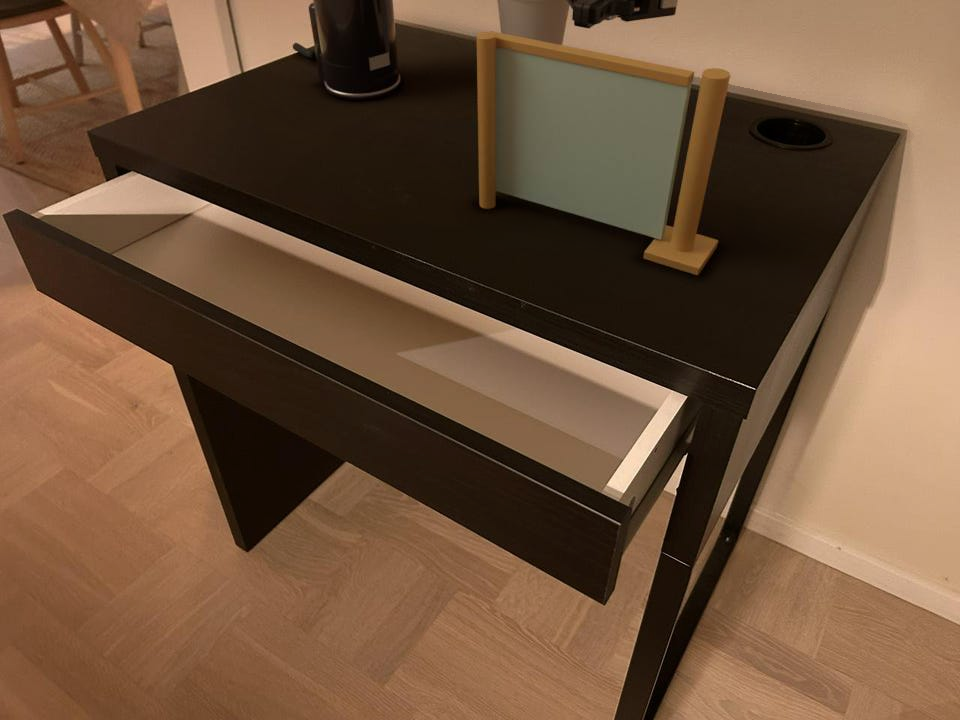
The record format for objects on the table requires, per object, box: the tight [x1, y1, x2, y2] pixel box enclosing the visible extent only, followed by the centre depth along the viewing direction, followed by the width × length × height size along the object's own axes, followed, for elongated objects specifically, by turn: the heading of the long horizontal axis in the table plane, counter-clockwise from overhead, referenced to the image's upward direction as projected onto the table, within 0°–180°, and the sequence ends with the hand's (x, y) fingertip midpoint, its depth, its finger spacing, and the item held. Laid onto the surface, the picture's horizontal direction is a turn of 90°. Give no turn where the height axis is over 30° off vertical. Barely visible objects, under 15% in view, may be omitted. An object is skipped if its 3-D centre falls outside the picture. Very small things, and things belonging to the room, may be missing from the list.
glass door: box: [490, 30, 695, 240], centre depth 65 cm, size 18×1×15 cm, turn 59°
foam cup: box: [497, 0, 571, 45], centre depth 91 cm, size 10×9×13 cm
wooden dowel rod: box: [476, 31, 497, 210], centre depth 67 cm, size 2×2×16 cm
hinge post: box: [642, 67, 731, 276], centre depth 61 cm, size 5×5×16 cm
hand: (581, 16), depth 71 cm, fingers closed
